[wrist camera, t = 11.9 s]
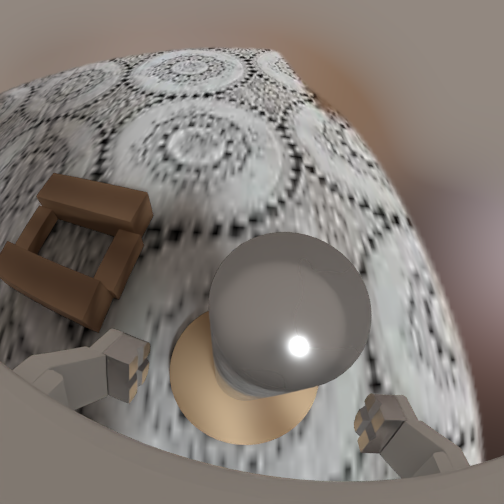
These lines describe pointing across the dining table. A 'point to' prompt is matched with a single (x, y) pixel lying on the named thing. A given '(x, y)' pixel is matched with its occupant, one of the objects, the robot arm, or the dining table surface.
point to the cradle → (89, 216)
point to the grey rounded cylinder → (285, 316)
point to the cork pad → (219, 403)
